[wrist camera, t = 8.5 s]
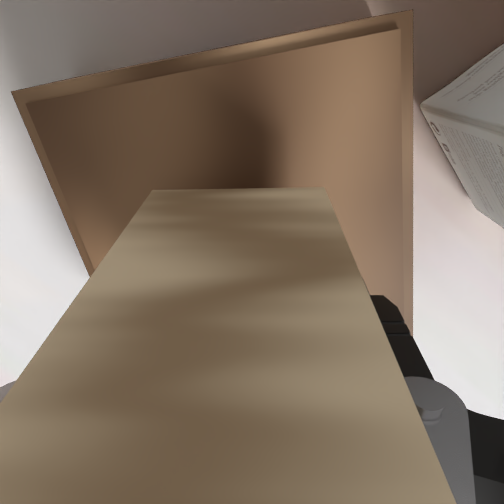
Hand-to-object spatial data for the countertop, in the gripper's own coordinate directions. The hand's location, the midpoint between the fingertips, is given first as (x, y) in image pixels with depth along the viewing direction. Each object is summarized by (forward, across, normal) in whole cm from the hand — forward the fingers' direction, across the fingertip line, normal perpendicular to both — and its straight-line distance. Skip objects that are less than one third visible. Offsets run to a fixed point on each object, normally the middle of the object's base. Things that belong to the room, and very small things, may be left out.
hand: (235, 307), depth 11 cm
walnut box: (+9, 0, 0) cm, 9 cm away
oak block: (+2, 0, 0) cm, 2 cm away
